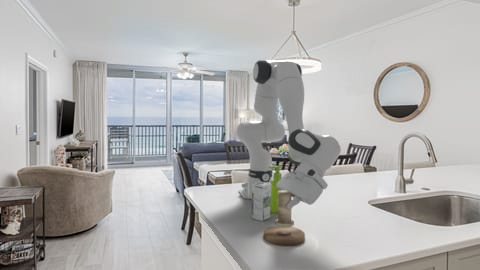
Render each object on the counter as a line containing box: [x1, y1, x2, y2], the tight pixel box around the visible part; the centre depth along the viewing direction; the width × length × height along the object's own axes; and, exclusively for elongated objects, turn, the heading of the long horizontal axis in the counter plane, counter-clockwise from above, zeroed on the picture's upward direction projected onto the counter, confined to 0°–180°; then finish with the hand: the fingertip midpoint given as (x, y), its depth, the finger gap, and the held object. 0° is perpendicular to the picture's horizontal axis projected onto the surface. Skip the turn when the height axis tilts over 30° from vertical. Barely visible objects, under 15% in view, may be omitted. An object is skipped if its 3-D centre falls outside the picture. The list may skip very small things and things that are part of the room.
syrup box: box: [251, 182, 272, 222], centre depth 122 cm, size 6×6×14 cm
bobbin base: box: [263, 225, 306, 247], centre depth 104 cm, size 14×14×2 cm
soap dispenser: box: [269, 165, 282, 214], centre depth 131 cm, size 6×7×20 cm
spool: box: [274, 190, 295, 227], centre depth 103 cm, size 6×6×11 cm
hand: (282, 205), depth 103 cm, fingers closed on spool, 5 cm apart
